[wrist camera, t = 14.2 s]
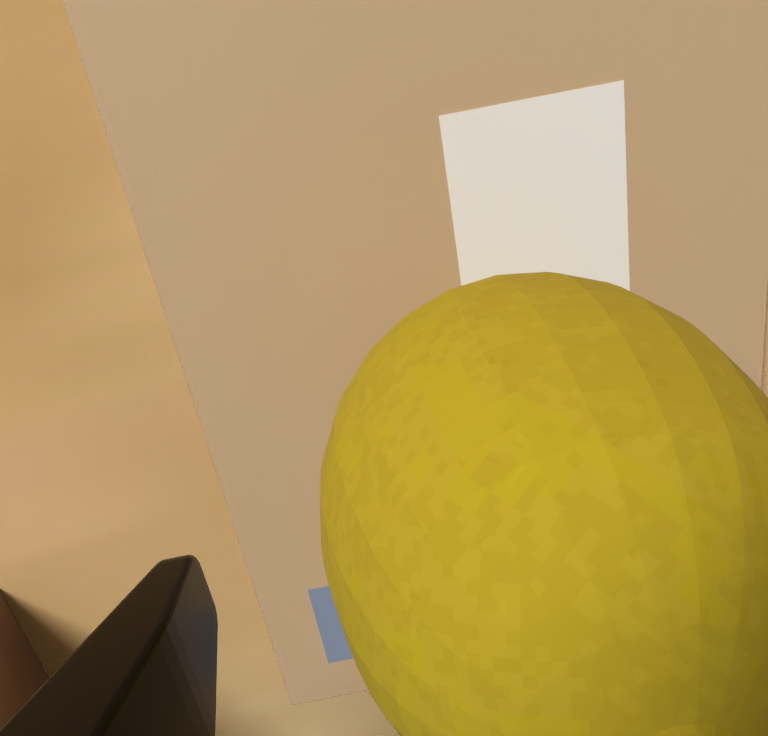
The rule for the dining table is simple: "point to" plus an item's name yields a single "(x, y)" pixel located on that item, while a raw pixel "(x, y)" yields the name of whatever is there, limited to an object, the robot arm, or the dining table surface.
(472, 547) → the lemon
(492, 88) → the envelope
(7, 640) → the walnut block
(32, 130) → the dining table surface
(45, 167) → the dining table surface
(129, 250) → the dining table surface
